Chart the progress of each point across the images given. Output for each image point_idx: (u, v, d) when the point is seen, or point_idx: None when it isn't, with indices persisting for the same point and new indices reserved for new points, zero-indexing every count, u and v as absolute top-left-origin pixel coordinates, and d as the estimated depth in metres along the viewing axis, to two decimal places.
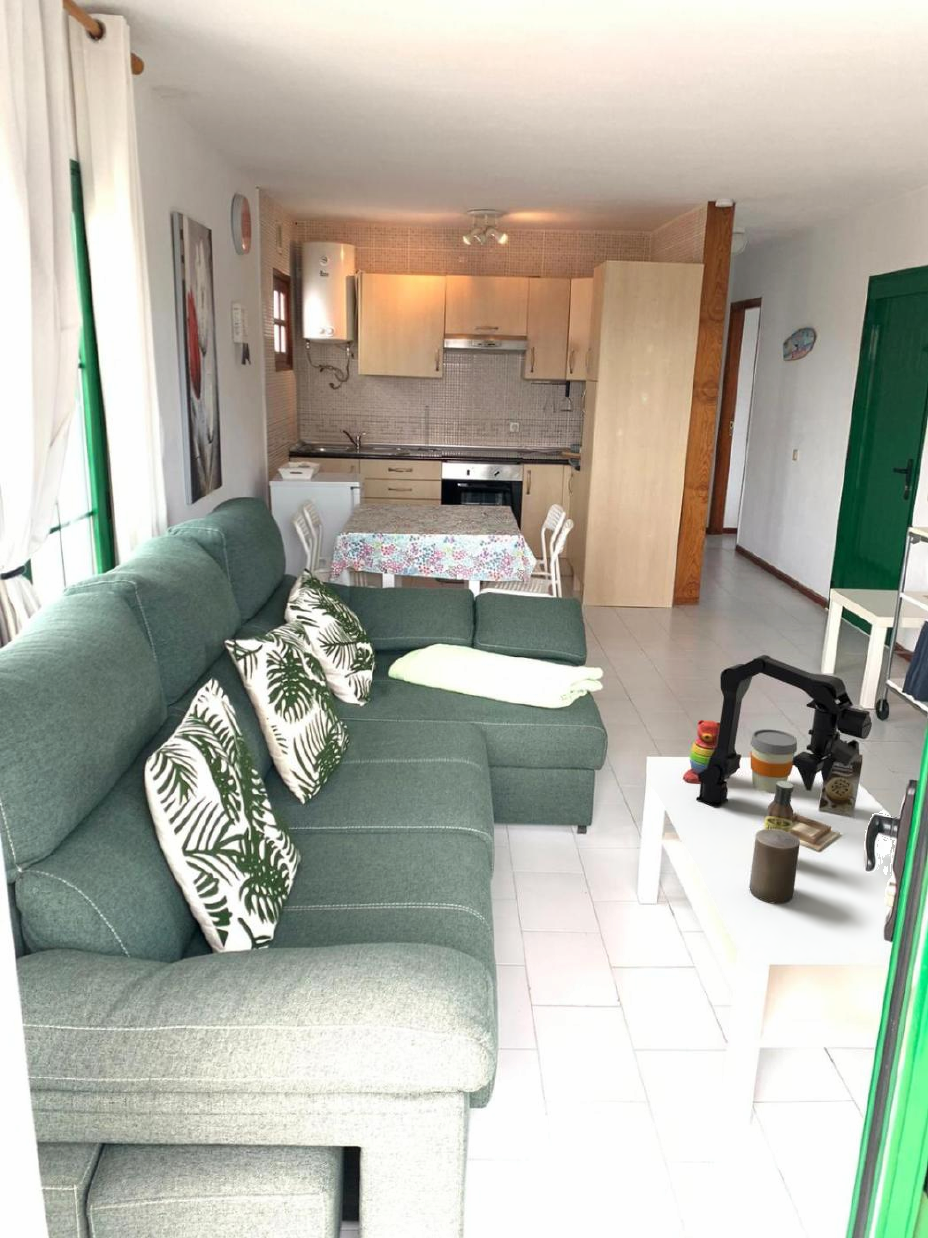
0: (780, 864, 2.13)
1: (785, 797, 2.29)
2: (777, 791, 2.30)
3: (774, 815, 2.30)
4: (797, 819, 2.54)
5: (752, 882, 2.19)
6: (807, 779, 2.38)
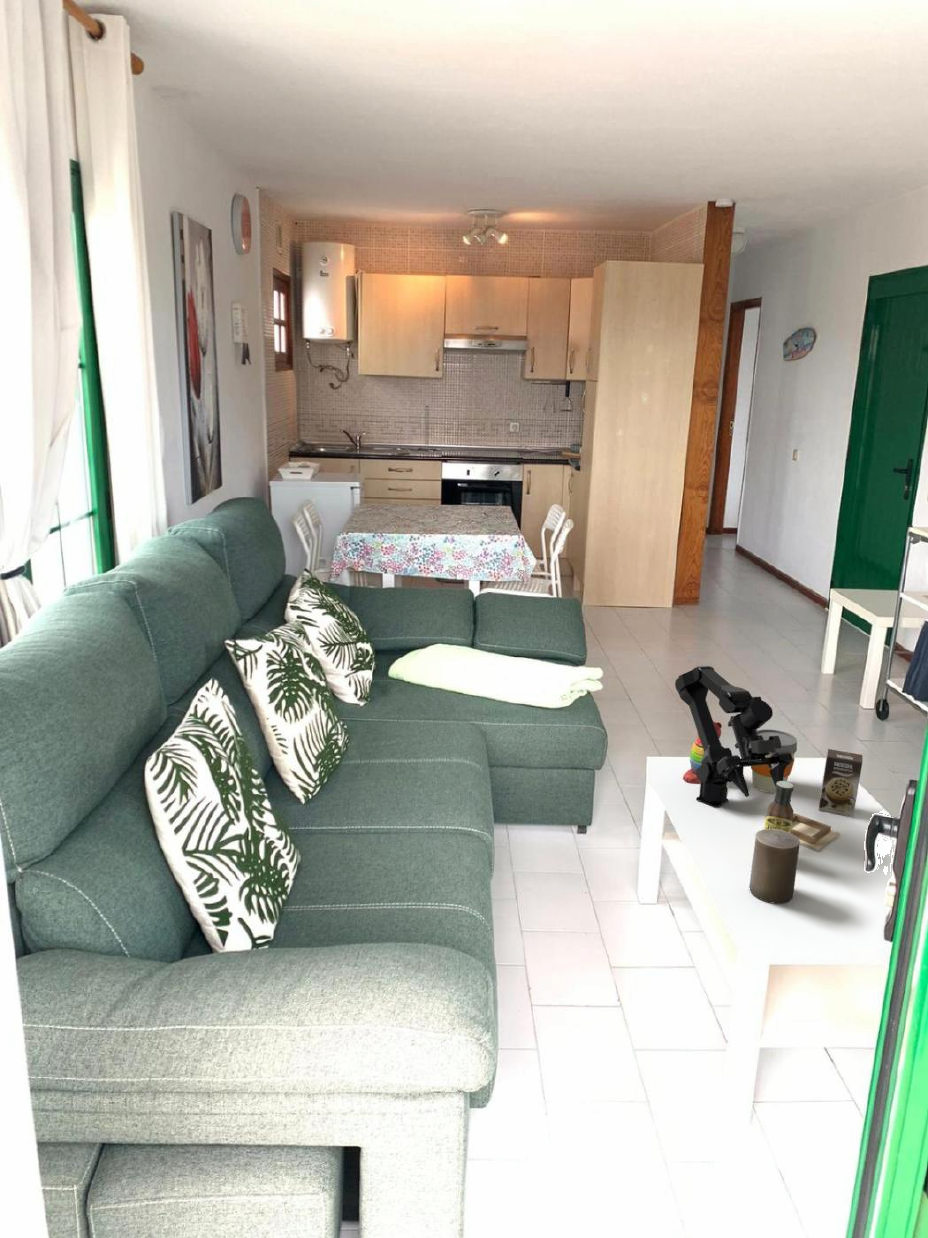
0: (780, 864, 2.13)
1: (785, 797, 2.29)
2: (777, 791, 2.30)
3: (774, 815, 2.30)
4: (797, 819, 2.54)
5: (752, 882, 2.19)
6: (739, 784, 2.39)
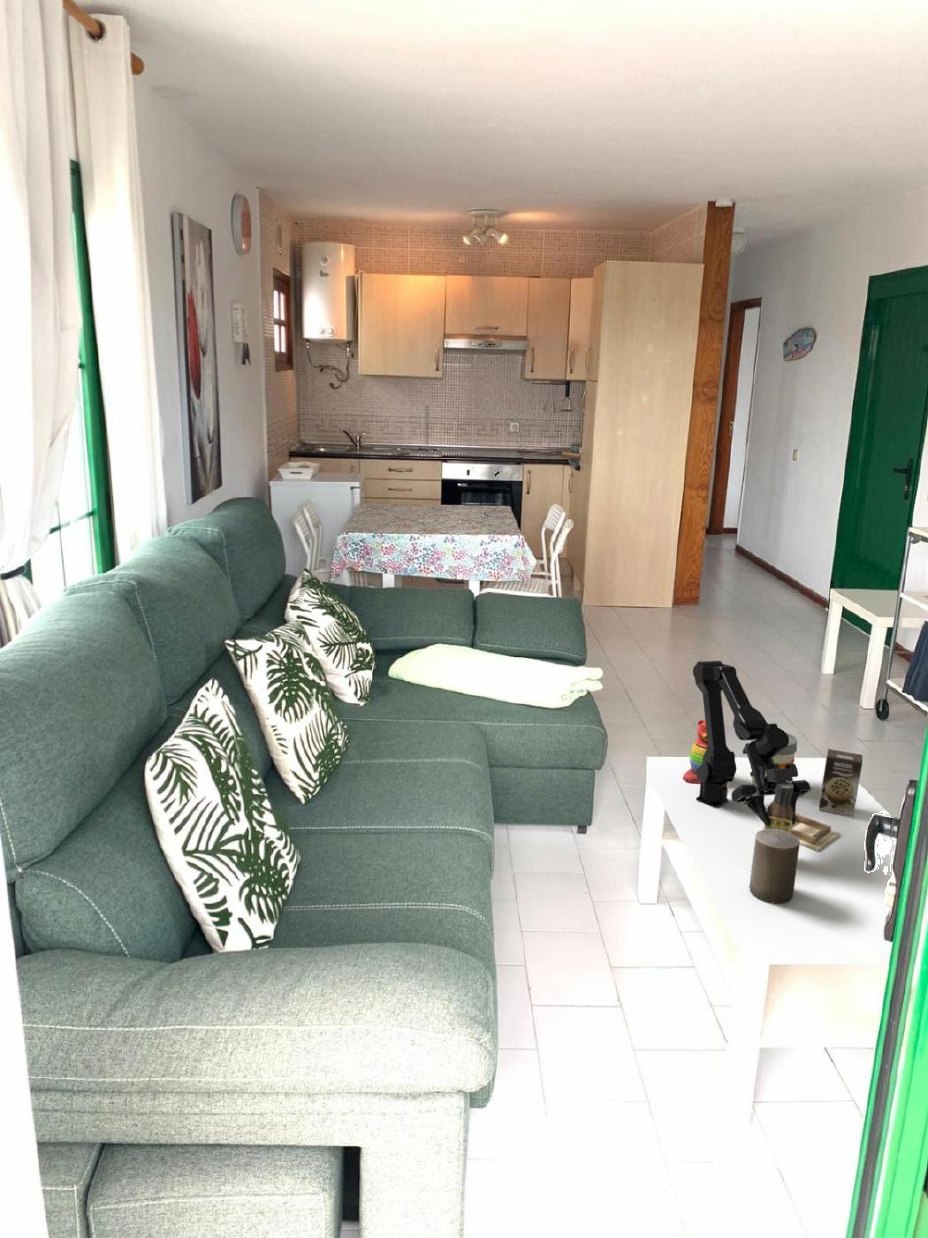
0: (780, 864, 2.13)
1: (785, 797, 2.29)
2: (777, 791, 2.30)
3: (774, 815, 2.30)
4: (797, 819, 2.54)
5: (752, 882, 2.19)
6: (760, 813, 2.32)
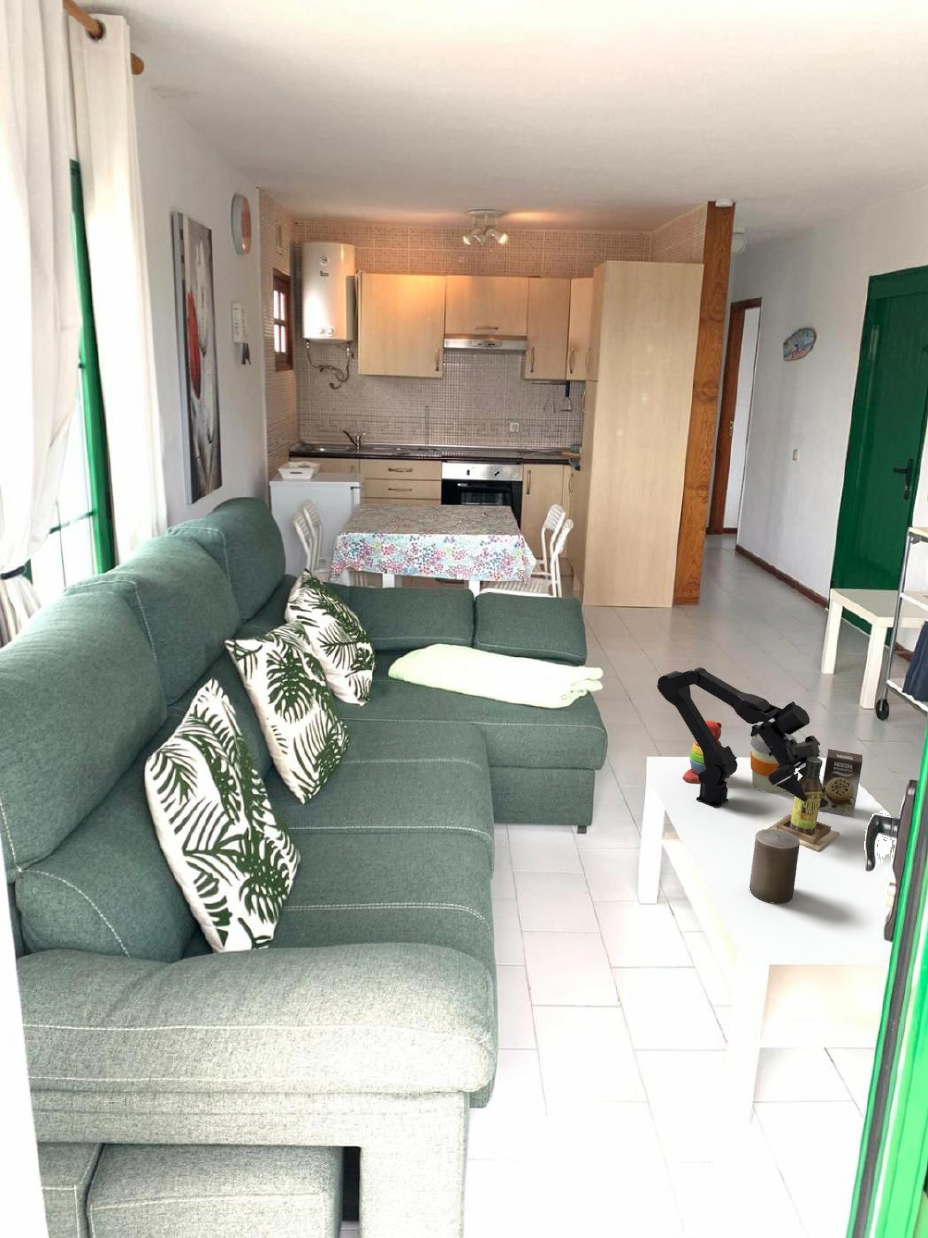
0: (780, 864, 2.13)
1: (819, 771, 2.43)
2: (811, 767, 2.42)
3: (811, 791, 2.43)
4: None
5: (752, 882, 2.19)
6: (796, 791, 2.42)
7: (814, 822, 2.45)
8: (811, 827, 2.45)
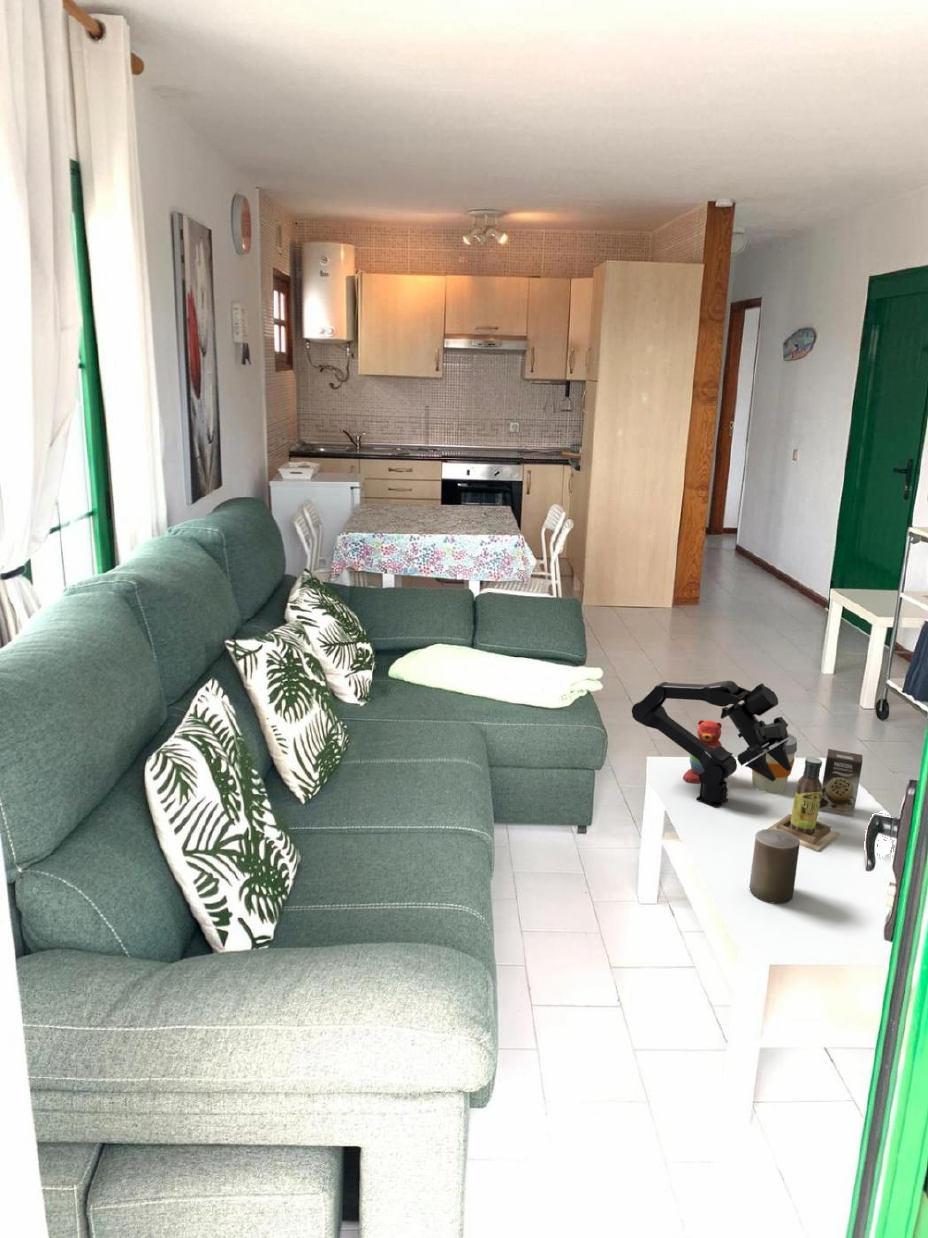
0: (780, 864, 2.13)
1: (818, 771, 2.43)
2: (810, 768, 2.42)
3: (811, 791, 2.43)
4: None
5: (752, 882, 2.19)
6: (764, 771, 2.47)
7: (814, 823, 2.45)
8: (811, 827, 2.45)
